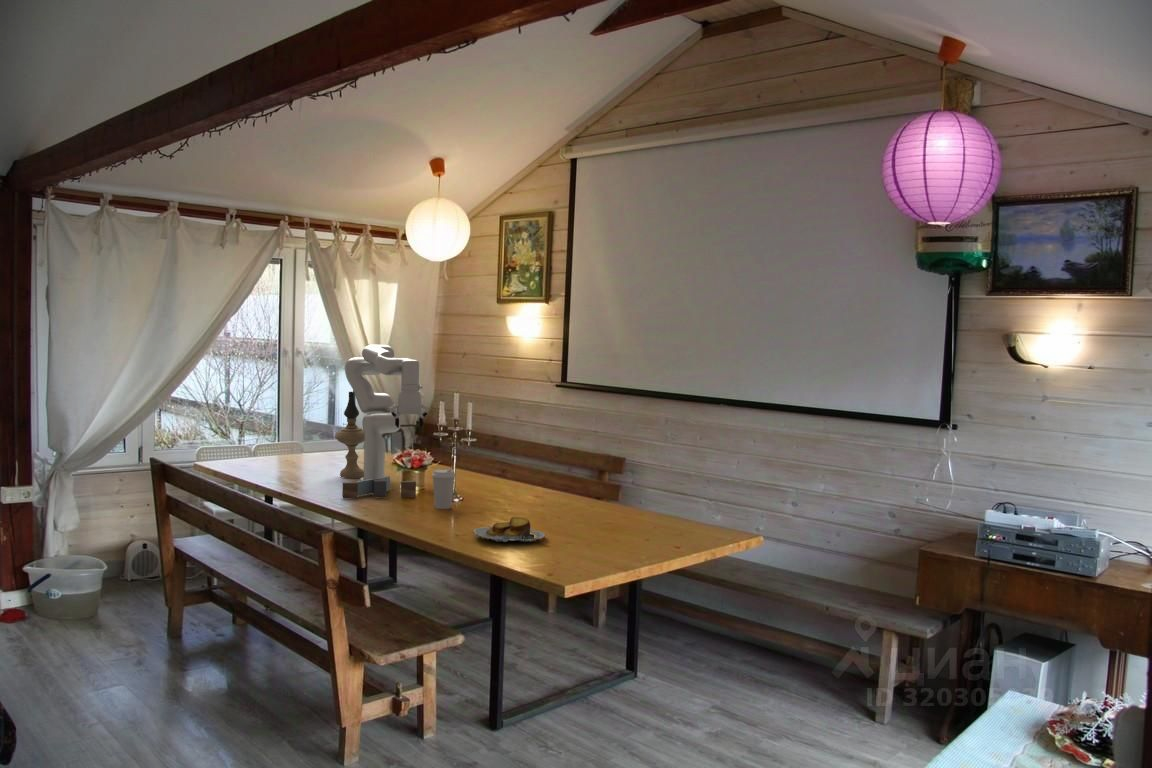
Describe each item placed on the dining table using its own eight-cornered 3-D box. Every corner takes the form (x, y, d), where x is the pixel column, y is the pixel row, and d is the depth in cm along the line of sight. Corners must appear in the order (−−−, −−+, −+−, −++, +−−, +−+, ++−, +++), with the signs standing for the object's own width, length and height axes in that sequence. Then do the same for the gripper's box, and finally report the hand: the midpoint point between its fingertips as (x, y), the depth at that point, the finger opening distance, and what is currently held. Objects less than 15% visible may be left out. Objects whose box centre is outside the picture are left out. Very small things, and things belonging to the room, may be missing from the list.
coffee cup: (443, 511, 342) (444, 473, 341) (425, 507, 348) (426, 470, 346) (459, 507, 350) (460, 470, 349) (442, 503, 355) (443, 467, 354)
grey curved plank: (354, 495, 363) (354, 481, 363) (386, 489, 378) (386, 475, 378) (357, 496, 362) (357, 481, 362) (389, 490, 377) (390, 476, 376)
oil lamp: (337, 473, 414) (336, 390, 411) (369, 472, 417) (368, 390, 414) (334, 479, 400) (333, 393, 396) (367, 478, 402) (366, 393, 399)
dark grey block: (372, 494, 369) (372, 478, 368) (384, 494, 370) (384, 478, 370) (373, 498, 362) (374, 481, 362) (386, 497, 364) (386, 481, 363)
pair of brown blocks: (342, 497, 360) (342, 482, 359) (414, 496, 369) (415, 481, 369) (342, 498, 358) (342, 483, 357) (415, 497, 367) (416, 481, 367)
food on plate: (459, 536, 305) (460, 517, 305) (518, 528, 321) (518, 510, 320) (499, 552, 285) (499, 532, 285) (559, 543, 301) (560, 524, 300)
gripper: (428, 387, 381) (427, 426, 382) (388, 387, 376) (387, 426, 377) (431, 389, 374) (430, 428, 375) (390, 388, 369) (389, 428, 370)
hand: (408, 427), depth 376 cm, fingers open, 9 cm apart
